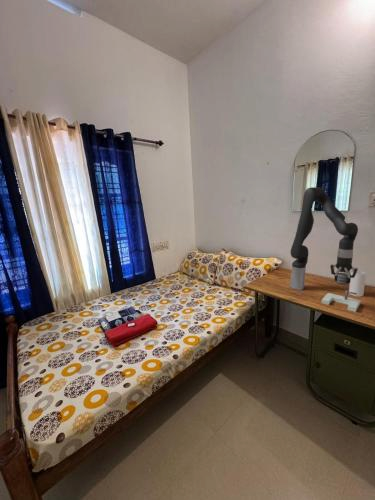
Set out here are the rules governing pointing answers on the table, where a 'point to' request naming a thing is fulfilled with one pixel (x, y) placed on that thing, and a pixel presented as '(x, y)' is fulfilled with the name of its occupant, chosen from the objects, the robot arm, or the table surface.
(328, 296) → the board
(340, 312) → the table surface
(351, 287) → the cup
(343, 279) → the grooved grey cylinder
